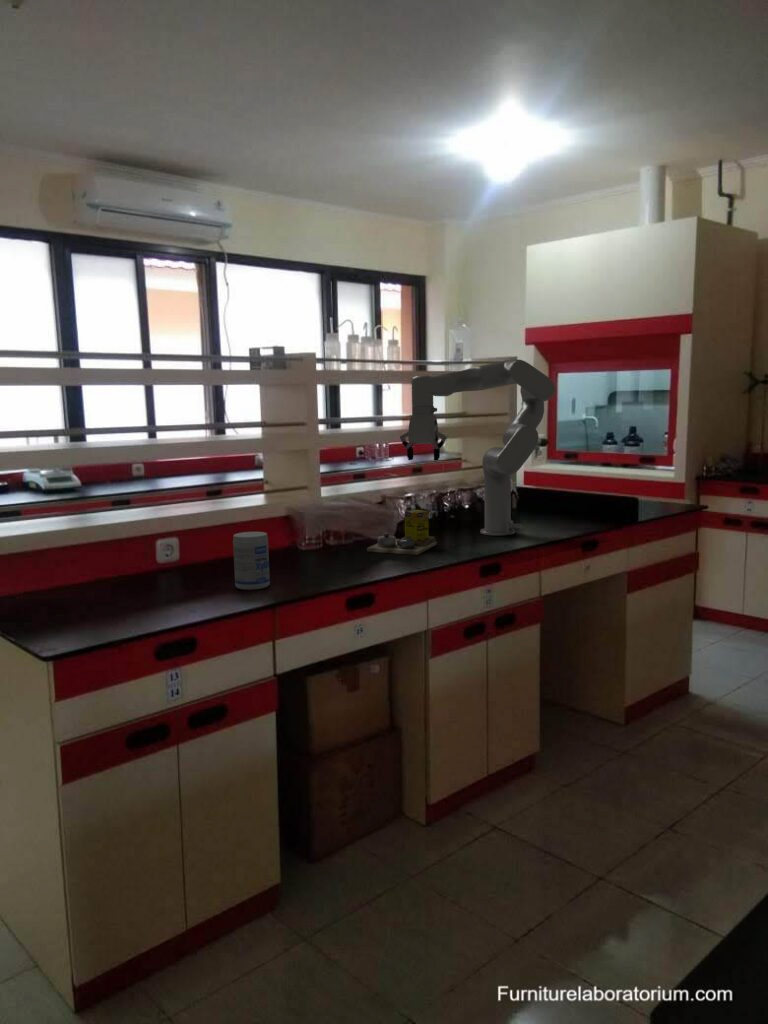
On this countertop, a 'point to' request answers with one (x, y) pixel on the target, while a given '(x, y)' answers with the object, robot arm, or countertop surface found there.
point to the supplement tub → (251, 560)
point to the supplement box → (416, 525)
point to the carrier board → (392, 545)
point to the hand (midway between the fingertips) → (423, 460)
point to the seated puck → (406, 544)
